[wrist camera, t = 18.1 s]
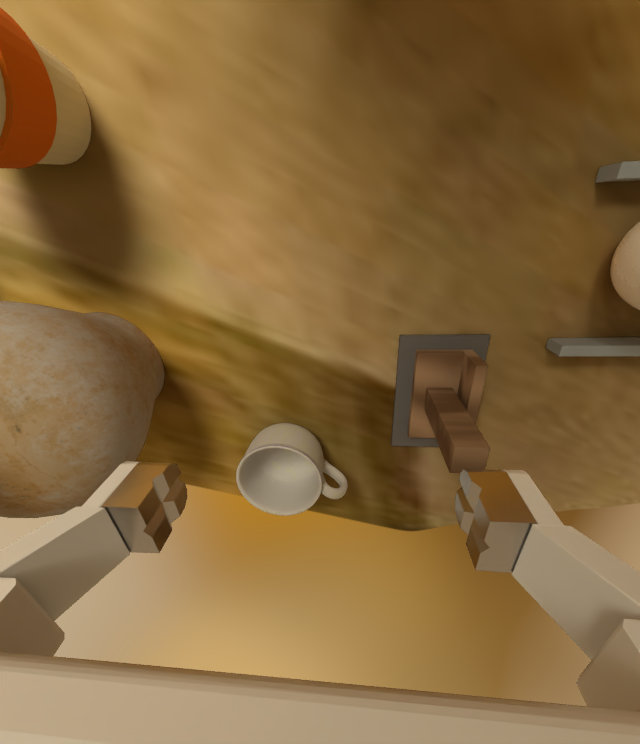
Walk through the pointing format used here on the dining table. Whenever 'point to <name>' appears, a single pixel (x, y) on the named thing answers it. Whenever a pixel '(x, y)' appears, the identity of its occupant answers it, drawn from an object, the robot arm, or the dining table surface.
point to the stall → (602, 345)
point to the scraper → (449, 405)
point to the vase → (69, 404)
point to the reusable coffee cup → (38, 104)
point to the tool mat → (406, 370)
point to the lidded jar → (628, 267)
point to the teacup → (286, 471)
